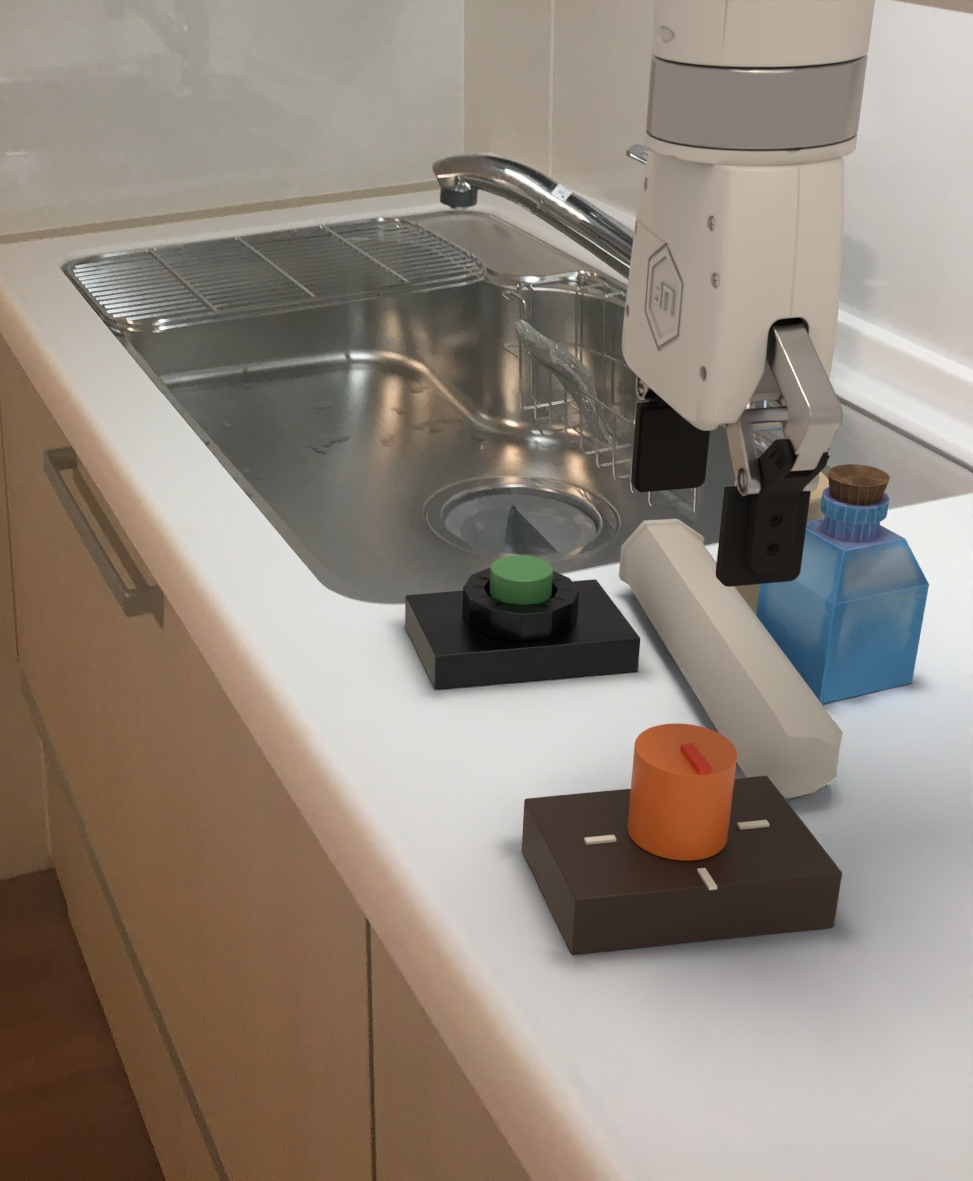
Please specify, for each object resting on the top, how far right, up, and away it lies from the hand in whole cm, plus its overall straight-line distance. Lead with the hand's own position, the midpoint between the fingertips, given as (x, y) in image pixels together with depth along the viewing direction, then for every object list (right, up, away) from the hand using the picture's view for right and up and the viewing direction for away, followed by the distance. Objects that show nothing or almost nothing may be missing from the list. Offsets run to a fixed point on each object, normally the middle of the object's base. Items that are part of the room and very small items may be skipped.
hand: (709, 531), depth 67 cm
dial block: (+1, -16, +8) cm, 18 cm away
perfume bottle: (+15, -7, +26) cm, 31 cm away
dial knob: (+1, -13, +7) cm, 15 cm away
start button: (-3, -3, +28) cm, 28 cm away
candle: (+13, -4, +33) cm, 35 cm away
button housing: (-2, -6, +29) cm, 30 cm away
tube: (+8, -8, +24) cm, 27 cm away
